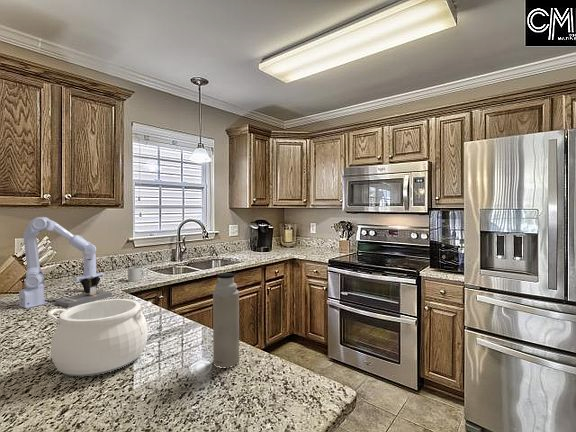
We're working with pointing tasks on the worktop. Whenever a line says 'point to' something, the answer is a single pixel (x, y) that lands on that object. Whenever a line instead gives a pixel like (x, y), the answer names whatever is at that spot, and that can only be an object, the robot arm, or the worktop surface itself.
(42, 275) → the robot arm
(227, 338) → the thermos bottle
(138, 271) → the cup
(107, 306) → the pot
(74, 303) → the console board
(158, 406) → the worktop surface
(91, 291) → the fader tab
